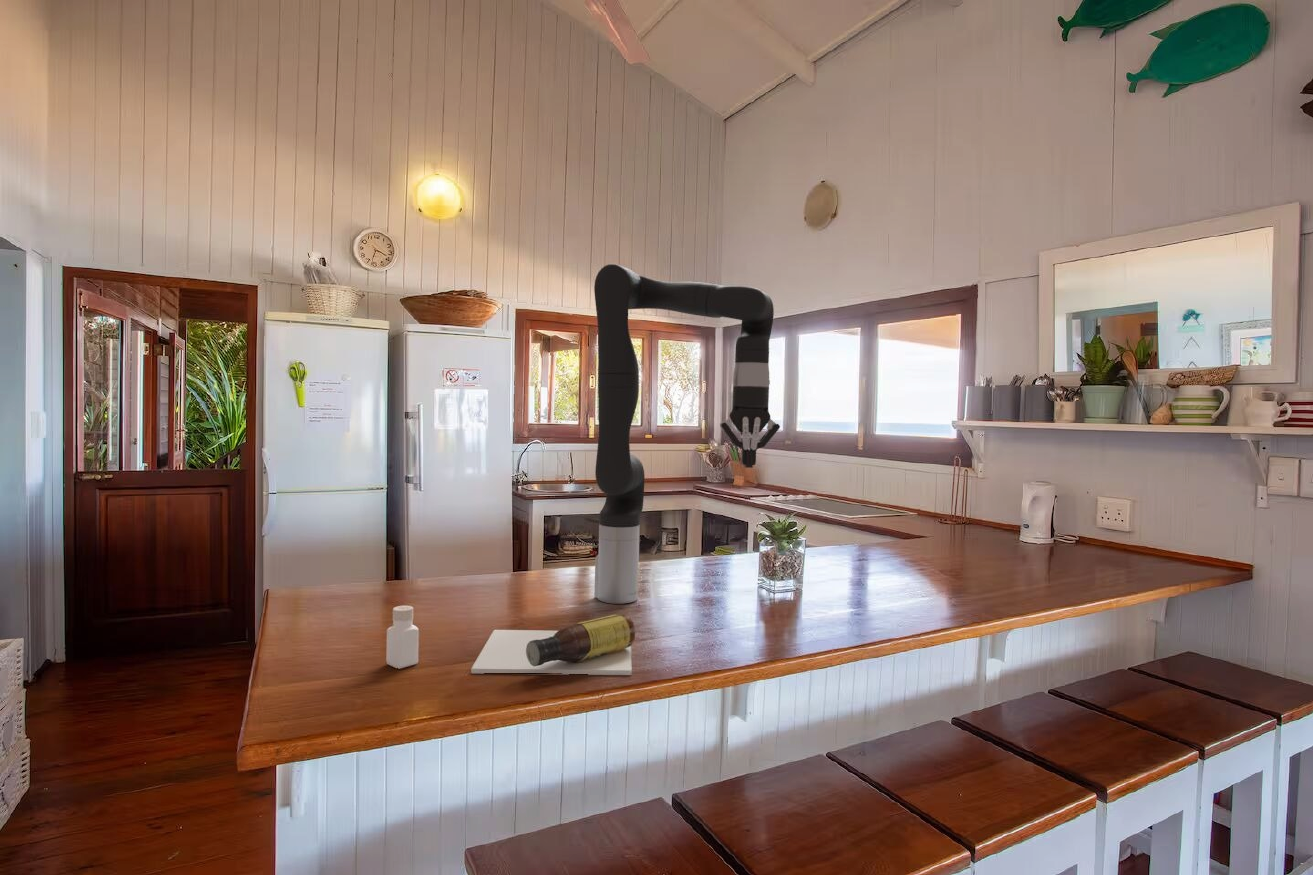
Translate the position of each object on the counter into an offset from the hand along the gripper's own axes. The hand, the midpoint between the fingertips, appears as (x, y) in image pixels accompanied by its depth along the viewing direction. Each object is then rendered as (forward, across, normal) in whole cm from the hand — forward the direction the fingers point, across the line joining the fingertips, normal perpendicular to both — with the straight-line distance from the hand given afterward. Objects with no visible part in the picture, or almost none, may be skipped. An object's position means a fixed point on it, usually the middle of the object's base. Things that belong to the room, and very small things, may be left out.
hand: (748, 467), depth 149 cm
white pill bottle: (+32, +62, +30) cm, 76 cm away
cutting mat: (+32, +37, +23) cm, 54 cm away
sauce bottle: (+28, +25, +22) cm, 44 cm away
